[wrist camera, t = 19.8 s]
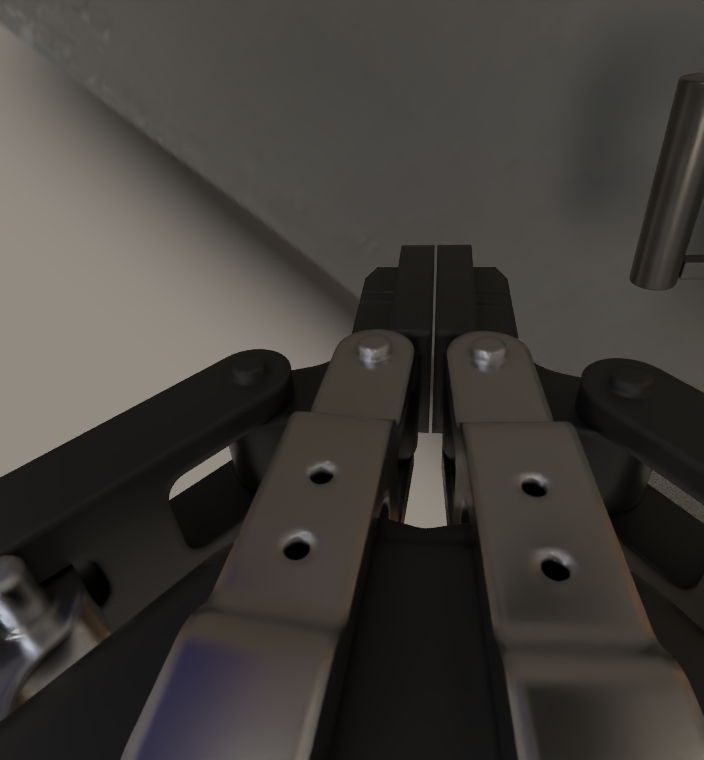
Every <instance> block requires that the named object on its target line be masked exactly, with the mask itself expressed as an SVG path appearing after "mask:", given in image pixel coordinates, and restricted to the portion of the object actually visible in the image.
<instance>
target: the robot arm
mask: <svg viewBox="0 0 704 760" xmlns="http://www.w3.org/2000/svg"><path fill="white" fill-rule="evenodd" d="M434 249H435V245H402V246H401V253H400V259H399V266H398V267H377V268H376V269H375V270H374V271H373V272H372V273H371V274H370V275H369V276H367V277H366V278H365V282H364V286H363V290H362V294H361V298H360V304H359V307H358V311H357V315H356V319H355V323H354V327H353V331H352V334H351V335H349V336H348V337H346V338H344V339H343V340H342V341H341V342H340V343H339V344H338V345H337V347H336V349H335V351H334V354H333V356H332V359H331V361H329V362H327V363H324V364H321V365H317V366H313V367H308V368H303V369H297V370H291V366H290V362H289V360H287V358H286V357H285V356H283V355H282V354H280V353H278V352H275V351H272V350H265V349H254V350H246V351H242V352H238V353H236V354H233V355H231V356H229V357H226V358H225V359H223V360H221V361H219V362H217V363H215V364H213V365H212V366H210V367H208V368H206V369H204V370H202V371H200V372H198V373H196V374H195V375H193V376H191V377H189V378H187V379H185V380H183V381H181V382H179V383H178V384H176V385H174V386H172V387H170V388H168V389H166V390H164V391H162V392H161V393H159V394H157V395H155V396H153V397H151V398H150V399H147V400H145V401H144V402H142V403H140V404H138V405H136V406H134V407H132V408H130V409H129V410H127V411H125V412H123V413H121V414H119V415H117V416H115V417H113V418H112V419H110V420H108V421H106V422H104V423H102V424H100V425H98V426H97V427H95V428H93V429H91V430H89V431H87V432H85V433H83V434H82V435H80V436H78V437H76V438H74V439H72V440H70V441H68V442H66V443H65V444H63V445H61V446H59V447H57V448H55V449H53V450H51V451H49V452H48V453H46V454H44V455H42V456H40V457H38V458H36V459H34V460H32V461H31V462H29V463H27V464H25V465H23V466H21V467H19V468H18V469H16V470H14V471H12V472H10V473H8V474H6V475H4V476H2V477H0V760H704V524H703V523H702V522H701V521H699V520H698V519H696V518H695V517H694V516H692V515H691V514H689V513H688V512H687V511H685V510H684V509H682V508H681V507H680V506H678V505H677V504H675V503H674V502H673V501H671V500H670V499H668V498H667V497H666V496H664V495H663V494H661V493H660V492H659V491H657V490H656V489H655V488H653V487H652V486H650V485H649V484H648V483H647V482H648V480H649V477H650V475H651V472H652V469H653V470H654V471H655V472H657V473H658V474H660V475H661V476H663V477H664V478H666V479H667V480H668V481H670V482H671V483H673V484H674V485H676V486H677V487H679V488H680V489H681V490H683V491H684V492H686V493H687V494H689V495H690V496H692V497H693V498H694V499H696V500H697V501H699V502H700V503H702V504H703V505H704V393H703V392H701V391H699V390H697V389H695V388H694V387H692V386H690V385H688V384H686V383H684V382H683V381H681V380H679V379H677V378H675V377H673V376H672V375H670V374H668V373H666V372H664V371H662V370H660V369H658V368H656V367H654V366H652V365H650V364H647V363H644V362H640V361H637V360H631V359H622V358H611V359H604V360H599V361H596V362H594V363H592V364H590V365H589V366H587V367H586V368H585V369H584V371H583V373H582V377H581V378H580V377H575V376H571V375H566V374H562V373H558V372H554V371H551V370H548V369H545V368H543V367H541V366H539V365H537V364H536V363H534V362H533V359H532V356H531V353H530V351H529V349H528V347H527V346H526V345H525V344H524V343H523V342H521V341H520V340H519V339H518V334H517V328H516V323H515V317H514V312H513V307H512V301H511V296H510V290H509V285H508V280H507V278H506V277H505V276H504V275H503V274H502V273H501V272H500V271H499V270H498V269H497V268H495V267H473V260H472V248H471V245H438V249H437V281H436V314H435V348H434V383H433V418H432V419H433V420H432V433H443V447H442V476H443V486H444V497H445V508H446V518H447V526H443V527H436V528H427V529H426V528H418V527H414V526H411V525H407V524H404V520H405V514H406V507H407V501H408V496H409V490H410V484H411V477H412V472H413V466H414V452H415V450H416V448H417V441H418V432H421V433H429V408H430V406H429V405H430V380H431V379H430V378H431V352H432V323H433V287H434ZM227 446H229V449H230V452H231V456H232V460H231V461H229V462H228V463H226V464H225V465H223V466H221V467H220V468H219V469H217V470H215V471H214V472H212V473H211V474H209V475H208V476H206V477H205V478H203V479H202V480H200V481H199V482H197V483H195V484H194V485H192V486H191V487H190V488H188V489H186V490H185V491H183V492H182V493H180V494H179V495H177V496H175V497H174V498H172V499H171V500H169V493H170V490H171V488H172V486H173V485H174V483H175V482H176V481H177V479H179V478H180V477H181V476H182V475H183V474H185V473H186V472H188V471H189V470H191V469H193V468H194V467H196V466H198V465H199V464H201V463H202V462H204V461H205V460H207V459H209V458H210V457H212V456H213V455H215V454H216V453H218V452H220V451H221V450H223V449H224V448H226V447H227Z"/></svg>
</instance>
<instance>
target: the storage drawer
mask: <svg viewBox="0 0 704 760" xmlns="http://www.w3.org/2000/svg"><path fill="white" fill-rule="evenodd" d="M703 195H704V73H695V74H688V75H684V76H682V77H680V79H679V81H678V85H677V89H676V93H675V97H674V101H673V105H672V109H671V113H670V117H669V121H668V125H667V129H666V133H665V137H664V141H663V145H662V149H661V153H660V157H659V161H658V165H657V169H656V173H655V177H654V181H653V185H652V189H651V193H650V197H649V201H648V205H647V209H646V213H645V217H644V221H643V225H642V229H641V233H640V237H639V241H638V245H637V249H636V253H635V257H634V261H633V265H632V269H631V273H630V281H631V282H632V283H633V284H634V285H636V286H638V287H641V288H644V289H648V290H667V289H670V288H673V287H674V286H675V285H676V283H677V280H678V277H679V278H680V279H704V255H685V254H686V250H687V247H688V244H689V241H690V238H691V234H692V231H693V228H694V225H695V221H696V218H697V215H698V212H699V208H700V205H701V202H702V199H703Z"/></svg>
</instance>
